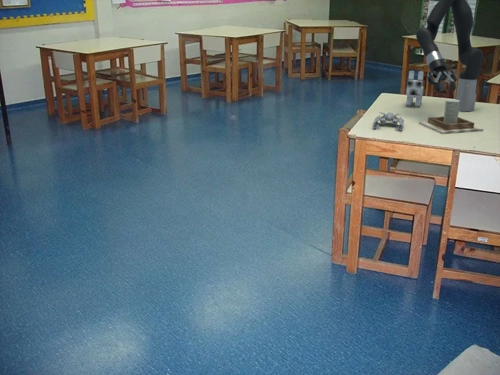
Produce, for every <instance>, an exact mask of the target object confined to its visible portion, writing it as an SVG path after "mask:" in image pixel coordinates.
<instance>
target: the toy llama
mask: <svg viewBox="0 0 500 375" xmlns="http://www.w3.org/2000/svg"><path fill="white" fill-rule="evenodd" d="M424 74H425V71H421V70H420V71H419V70H418V75H417V79H414V78H415V70H409V71H408V78H407V79H408V80H407V83H406V93H405V94H406V101H405V102H406V104H405V106H406V107H411V106H412V104H413V103H414V102H413V101H414V99H415V104H414V107H416V108H420V107H421V105H422V103H423V95H424V86H423V82H424V76H425V75H424Z"/></svg>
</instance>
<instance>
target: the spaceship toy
mask: <svg viewBox="0 0 500 375" xmlns="http://www.w3.org/2000/svg"><path fill="white" fill-rule="evenodd" d="M378 113H379V115H378V116H376V117H375V118H374V121H373V123H372V126H373V129H376V130H381V129H382V126H383V125H385V123H387V122H389V123H391V124H392V125H394V126H395V128H394V131H395V132H399V131H403V128H404V125H405V120H404V119H403V118H402V116H399V115H402V113H400V112H398V113H396V114H394V113H393V112H387V113H384V112H381V111H378ZM398 116H399V117H398ZM398 123H399V124H398Z"/></svg>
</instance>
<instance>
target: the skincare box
mask: <svg viewBox="0 0 500 375" xmlns="http://www.w3.org/2000/svg"><path fill="white" fill-rule="evenodd" d="M459 104H460V100H456V99H449V98H447V99H446V100H445V107H444V113H443V117H444V121H443V122H444V123H446V124H454V123H457V120H458V117H459V112H460V111H459Z"/></svg>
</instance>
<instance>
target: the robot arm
mask: <svg viewBox="0 0 500 375" xmlns="http://www.w3.org/2000/svg"><path fill="white" fill-rule="evenodd" d="M450 7H451V8H450ZM449 9H451V12H452V19H453V24H454V28H455V35H456V40H457V50H458V52H457V53H458V60H459V62H460V64H462V65H464V66H465V70H464V71H461V72H460V73H459V76H458V78H457V77H456V74H455V72H454V71H453V70H451V71H448V70H447V66H446V62H445V60H444V57H443V56H442V54H441V52H440V50H439V47H438V45H437V44H436V43H435V40H436V38H437V34H438V31H439V27H440V25H441V23H442V22H443V20H444V18H445V16H446V14H447V13H448V11H449ZM473 15H474V14H473V11H472V8H471V6H470V4H469V2H468V1H467V0H439V1H437V3H436V4H435V5H434V6H433V7H432V9H431V11H430V12H429V14H428V17H427V18H426V21H425V22H426V25H427V26H426V27H420V28H419V29H418V30H417V31H416V33H415V34H416V35H415V37H416V41H417V43H418V44H419V46H420V48H421V49H422V51H423V55H424V57H425V61H426V65H427V66H428V69H429V71H428V72H427V74H426V79H427V82H428V84H429V85H430V86H431V85H432V86H433V87H434V90H435V91H436V92H437V93H438V92H440V91H441V87H440V85H439V84H440V83H439V82H445V83H448V84H449V87H450V89H451V91H452V92H453V91H455V90H457V91H456V95H455V96H456V98H455V100H460V104H459V112H465V111H469V112H474V111H475V106H476V99H477V93H476V91H477V83H478V77H479V75H480V73H481V69H482V65H483V60H484V54H483V51H482V50H481V49H479V48H475V47H473V46H472V44H471V34H472V31H473V27H474V16H473ZM457 81H458V83H457ZM456 83H457V86H456ZM473 110H474V111H473Z"/></svg>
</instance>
